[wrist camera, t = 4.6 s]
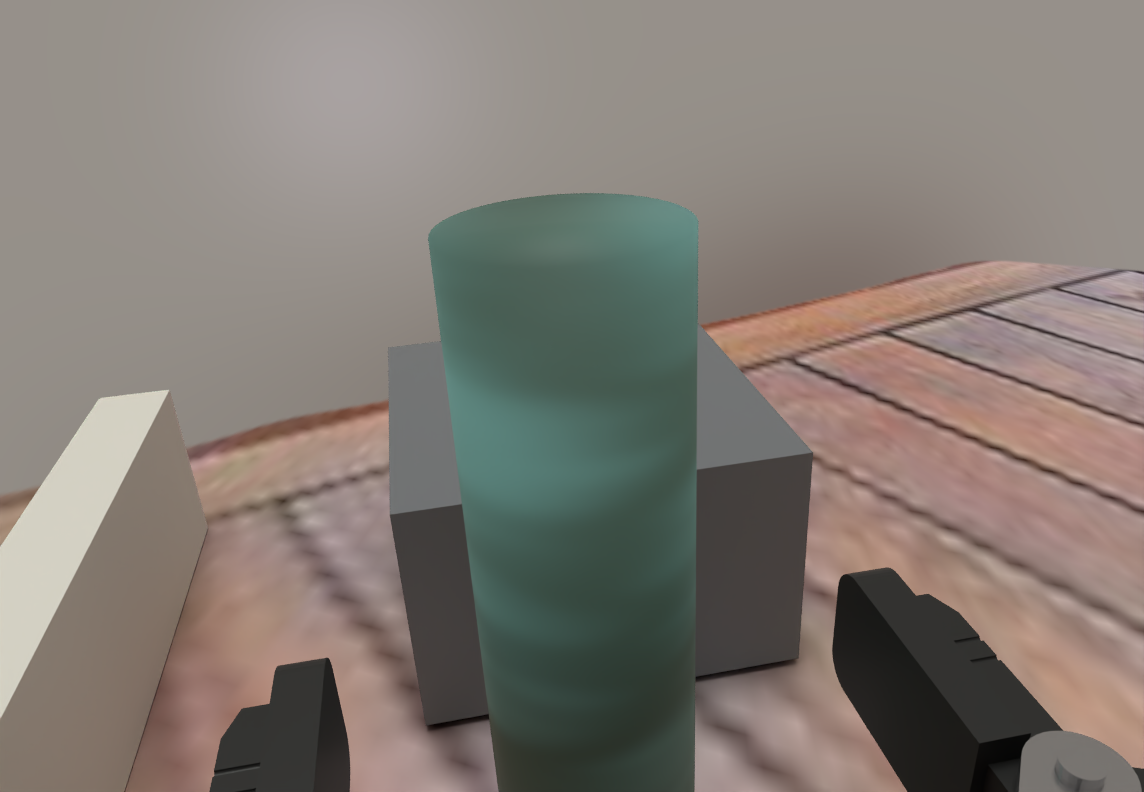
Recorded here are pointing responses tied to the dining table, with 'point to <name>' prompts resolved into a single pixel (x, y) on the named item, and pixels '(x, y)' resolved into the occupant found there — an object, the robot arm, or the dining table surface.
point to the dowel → (578, 480)
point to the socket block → (723, 528)
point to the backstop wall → (95, 598)
